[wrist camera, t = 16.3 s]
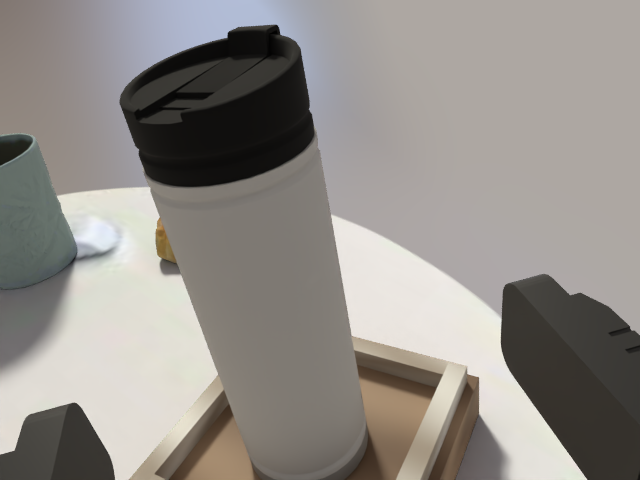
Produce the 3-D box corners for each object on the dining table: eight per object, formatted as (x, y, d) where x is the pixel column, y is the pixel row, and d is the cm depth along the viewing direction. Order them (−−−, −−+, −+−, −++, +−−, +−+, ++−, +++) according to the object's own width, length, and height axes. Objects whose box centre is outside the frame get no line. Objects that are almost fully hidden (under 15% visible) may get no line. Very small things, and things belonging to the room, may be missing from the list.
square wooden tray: (383, 677, 22) (373, 631, 20) (139, 535, 29) (110, 488, 26) (478, 413, 32) (478, 362, 29) (280, 353, 38) (267, 308, 36)
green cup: (49, 229, 61) (-2, 129, 54) (107, 245, 55) (58, 136, 49) (-38, 282, 54) (-108, 175, 47) (19, 306, 49) (-51, 189, 42)
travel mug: (389, 406, 29) (336, 18, 19) (336, 517, 25) (227, 83, 14) (290, 378, 32) (195, 28, 21) (226, 472, 27) (65, 84, 17)
